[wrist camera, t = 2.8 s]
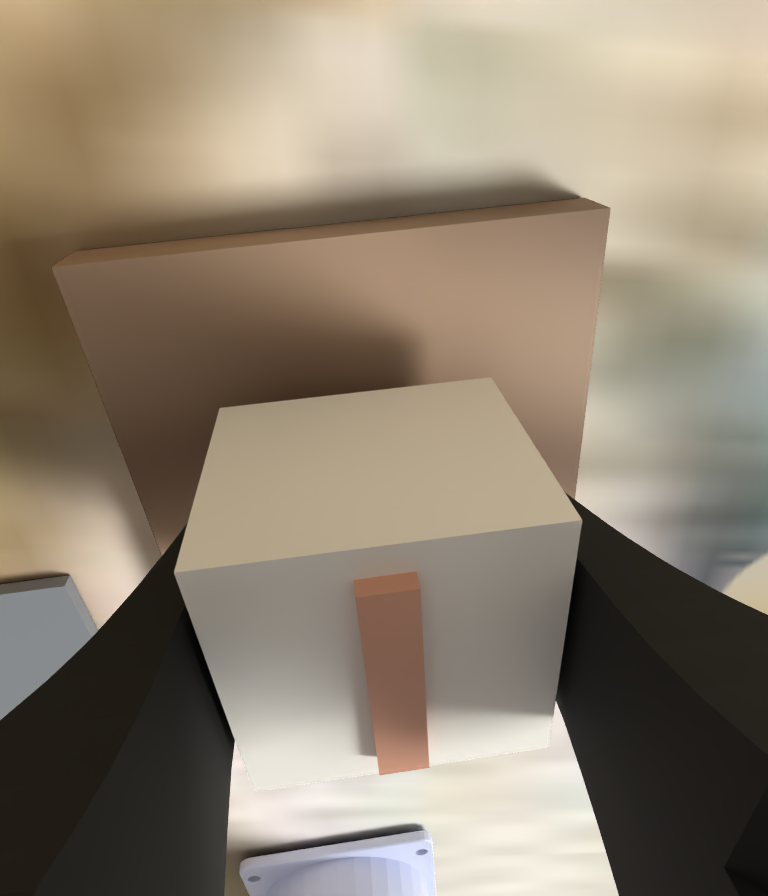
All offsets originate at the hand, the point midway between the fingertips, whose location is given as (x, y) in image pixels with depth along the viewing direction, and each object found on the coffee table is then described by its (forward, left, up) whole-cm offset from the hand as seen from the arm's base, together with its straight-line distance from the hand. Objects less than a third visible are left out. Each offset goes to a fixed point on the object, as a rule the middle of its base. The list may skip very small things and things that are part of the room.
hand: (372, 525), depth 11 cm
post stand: (0, 0, -3) cm, 3 cm away
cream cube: (0, 0, -1) cm, 1 cm away
